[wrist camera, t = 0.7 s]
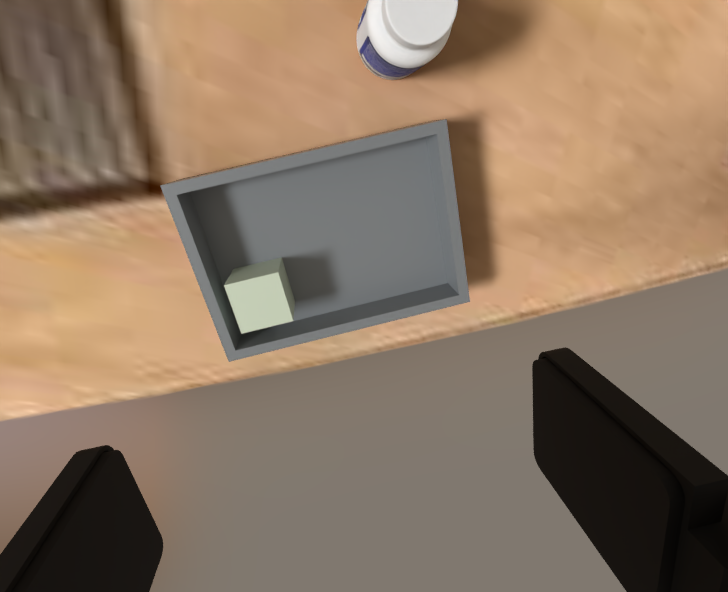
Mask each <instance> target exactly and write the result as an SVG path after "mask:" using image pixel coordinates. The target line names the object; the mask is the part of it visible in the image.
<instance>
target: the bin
mask: <svg viewBox="0 0 728 592" xmlns="http://www.w3.org/2000/svg"><path fill="white" fill-rule="evenodd" d="M161 189H162V191H163V194H164V196H165V199H166V202H167V204H168V207H169V209H170V212H171V214H172V217H173V220H174V222H175V225H176V227H177V230H178V232H179V235H180V238H181V240H182V243H183V245H184V248H185V250H186V253H187V256H188V258H189V261H190V263H191V266H192V268H193V271H194V274H195V276H196V279H197V281H198V284H199V286H200V289H201V291H202V294H203V297H204V299H205V302H206V304H207V307H208V309H209V312H210V315H211V317H212V320H213V322H214V325H215V327H216V330H217V333H218V335H219V338H220V340H221V343H222V345H223V348H224V351H225V353H226V356H227V358H228V361H229V362H230V361H234V360H238V359H242V358H246V357H250V356H254V355H258V354H262V353H266V352H270V351H274V350H278V349H282V348H286V347H290V346H294V345H298V344H302V343H306V342H310V341H314V340H318V339H322V338H326V337H330V336H334V335H338V334H342V333H346V332H350V331H354V330H358V329H362V328H366V327H370V326H374V325H378V324H382V323H386V322H390V321H394V320H398V319H402V318H406V317H410V316H414V315H418V314H422V313H426V312H430V311H434V310H439V309H443V308H447V307H451V306H455V305H459V304H463V303H467V302H470V298H469V291H468V283H467V275H466V267H465V259H464V252H463V244H462V236H461V228H460V220H459V213H458V205H457V197H456V189H455V181H454V174H453V166H452V158H451V150H450V142H449V135H448V127H447V119H444V120H436V121H430V122H425V123H421V124H417V125H412V126H408V127H404V128H400V129H395V130H391V131H387V132H382V133H378V134H374V135H369V136H365V137H361V138H357V139H352V140H348V141H344V142H339V143H335V144H331V145H326V146H322V147H318V148H313V149H309V150H305V151H301V152H296V153H292V154H288V155H283V156H279V157H275V158H270V159H266V160H262V161H258V162H253V163H249V164H245V165H240V166H236V167H232V168H227V169H223V170H219V171H215V172H210V173H206V174H202V175H197V176H193V177H189V178H184V179H180V180H176V181H173V182H170V183H167V184H164V185H161ZM281 257H282V260H283V264H284V267H285V270H286V274H287V277H288V280H289V284H290V287H291V290H292V293H293V297H294V300H295V307H294V319H293V321H291V322H287V323H283V324H279V325H275V326H271V327H267V328H263V329H259V330H255V331H251V332H247V333H243V334H241V331H240V328H239V325H238V323H237V320H236V317H235V315H234V312H233V309H232V306H231V304H230V301H229V298H228V295H227V293H226V290H225V287H224V284H225V283H226V281H227V279H228V277H229V276H230V274H231V272H232V270H233V269H236V268H240V267H244V266H248V265H252V264H256V263H261V262H265V261H269V260H273V259H277V258H281Z"/></svg>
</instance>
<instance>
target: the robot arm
mask: <svg viewBox="0 0 728 592" xmlns="http://www.w3.org/2000/svg"><path fill="white" fill-rule="evenodd" d="M533 432H534V433H533V438H534V456H535V459H536V462H537V464H538V466H539V468H540V469H541V471H542V472H543V474H544V475H545V477H546V478H547V479H548V481H549V482H550V484H551V485H552V486H553V488H554V489H555V491H556V492H557V494H558V495H559V496H560V498H561V499H562V501H563V502H564V503H565V505H566V506H567V508H568V509H569V510H570V512H571V513H572V515H573V516H574V518H575V519H576V521H577V522H578V523H579V525H580V526H581V527H582V529H583V530H584V532H585V533H586V534H587V536H588V538H589V539H590V540H591V542H592V543H593V545H594V546H595V547H596V549H597V550H598V552H599V553H600V555H601V556H602V557H603V559H604V560H605V562H606V563H607V564H608V565H609V567H610V568H611V570H612V572H613V573H614V574H615V576H616V577H617V579H618V580H619V581H620V583H621V584H622V586H623V587H624V588H625V590H626V591H627V592H728V476H727V475H726V474H725V473H724V472H722V471H721V470H720V469H719V468H718V467H716V466H715V465H714V464H713V463H711V462H710V461H709V460H708V459H706V458H705V457H704V456H703V455H701V454H700V453H699V452H697V451H696V450H695V449H694V448H693V447H691V446H690V445H689V444H688V443H686V442H685V441H684V440H683V439H681V438H680V437H679V436H678V435H676V434H675V433H674V432H672V431H671V430H670V429H669V428H667V427H666V426H665V425H664V424H663V423H661V422H660V421H659V420H657V419H656V418H655V417H654V416H653V415H651V414H650V413H649V412H648V411H646V410H645V409H644V408H643V407H641V406H640V405H639V404H638V403H636V402H635V401H634V400H633V399H631V398H630V397H629V396H628V395H626V394H625V393H624V392H622V391H621V390H620V389H619V388H618V387H616V386H615V385H614V384H613V383H611V382H610V381H609V380H608V379H606V378H605V377H604V376H602V375H601V374H600V373H599V372H597V371H596V370H595V369H594V368H593V367H591V366H590V365H589V364H588V363H586V362H585V361H584V360H583V359H581V358H580V357H579V356H578V355H576V354H575V353H574V352H573V351H571V350H570V349H568V348H561V349H555V350H551V351H546V352H542V353H541V354H540V355H539V359H538V360H535V361H534V362H533ZM162 551H163V540H162V537H161V534H160V532H159V530H158V528H157V526H156V523H155V521H154V519H153V517H152V515H151V513H150V511H149V509H148V507H147V505H146V503H145V500H144V498H143V496H142V494H141V492H140V490H139V488H138V486H137V484H136V482H135V479H134V477H133V475H132V473H131V471H130V469H129V467H128V465H127V463H126V461H125V458H124V456H123V454H122V453H121V452H120V451H119V450H114V449H113V448H112V447H110V446H108V445H105V446H100V447H95V448H91V449H86V450H81V451H78V452H76V454H74V455H73V457H72V458H71V459H70V461H69V462H68V464H67V465H66V466H65V467H64V469H63V470H62V472H61V473H60V474H59V476H58V477H57V478H56V480H55V481H54V482H53V484H52V485H51V486H50V488H49V489H48V491H47V492H46V493H45V495H44V496H43V497H42V499H41V500H40V501H39V503H38V504H37V505H36V507H35V508H34V510H33V511H32V512H31V514H30V515H29V517H28V518H27V519H26V520H25V522H24V523H23V524H22V526H21V527H20V529H19V530H18V531H17V533H16V534H15V535H14V537H13V538H12V540H11V541H10V542H9V543H8V545H7V546H6V548H5V549H4V550H3V552H2V553H1V554H0V592H149V591H150V588H151V585H152V582H153V579H154V576H155V573H156V570H157V567H158V565H159V562H160V559H161V556H162Z"/></svg>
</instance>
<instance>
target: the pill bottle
mask: <svg viewBox="0 0 728 592" xmlns="http://www.w3.org/2000/svg"><path fill="white" fill-rule="evenodd" d="M457 8H458V0H368V2H367V4H366V7H365V9H364V11H363V13H362V16H361V18H360V21H359V24H358V28H357V48H358V52H359V55H360V57H361V60H362V61H363V63H364V65H365V66H366V67H367V68H368V69H369V70H370V71H371V72H372V73H373V74H375V75H376V76H378V77H380V78H383V79H388V80H397V79H402V78H404V77H406V76H408V75H410V74H412V73H413V72H415V71H416V70H418V69H419V68H421V67H422V66H424V65H425V64H427V63H428V62H430V61H431V60H432V59H433V58H435V57H436V56H437V55H438V54H439V53H440V51H441V50H442V49H443V47H444V46H445V44H446V42H447V40H448V38H449V35H450V32H451V28H452V24H453V22H454V19H455V17H456V13H457Z"/></svg>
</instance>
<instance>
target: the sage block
mask: <svg viewBox="0 0 728 592" xmlns="http://www.w3.org/2000/svg"><path fill="white" fill-rule="evenodd" d="M224 287H225V290H226V293H227V295H228V298H229V301H230V304H231V306H232V309H233V312H234V315H235V317H236V320H237V323H238V325H239V328H240V331H241V334H243V333H247V332H251V331H255V330H259V329H263V328H267V327H271V326H275V325H279V324H283V323H287V322H291V321H293V319H294V307H295V300H294V297H293V293H292V290H291V287H290V284H289V280H288V277H287V274H286V270H285V267H284V264H283V260H282V257H281V258H277V259H273V260H269V261H265V262H261V263H256V264H252V265H248V266H244V267H240V268H236V269H233V270H232V272H231V274H230V276H229V277H228V279H227V281H226V283H225V284H224Z"/></svg>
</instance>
